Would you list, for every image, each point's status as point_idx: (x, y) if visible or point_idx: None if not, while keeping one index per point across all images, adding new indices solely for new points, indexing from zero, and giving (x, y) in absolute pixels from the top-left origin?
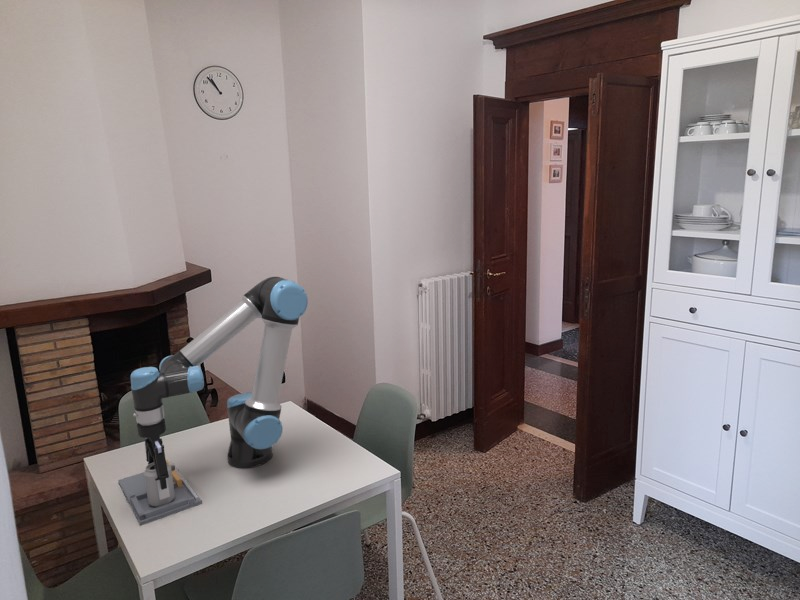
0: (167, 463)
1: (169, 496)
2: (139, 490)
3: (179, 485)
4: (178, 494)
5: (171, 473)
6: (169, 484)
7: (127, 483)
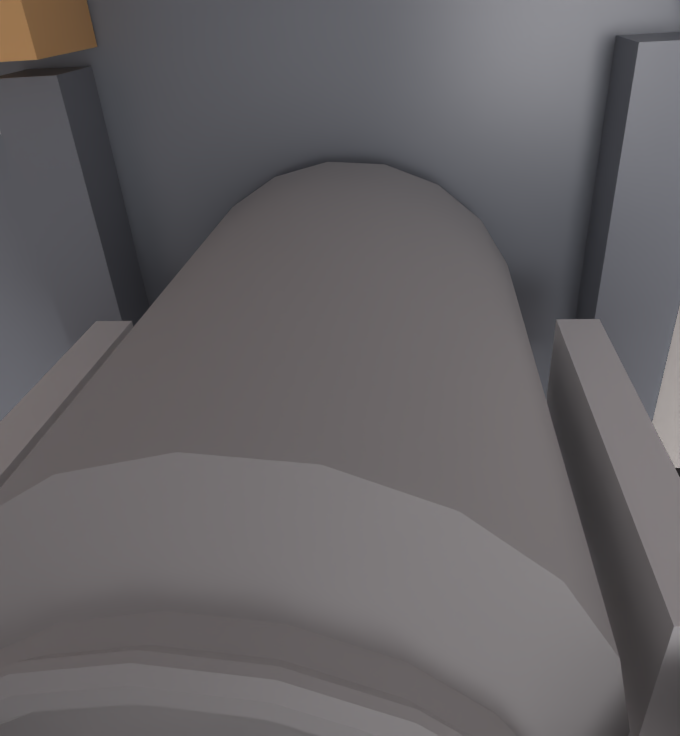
0: (291, 718)
1: (599, 323)
2: None
3: (77, 18)
4: (307, 89)
5: (402, 378)
6: (521, 364)
7: None
